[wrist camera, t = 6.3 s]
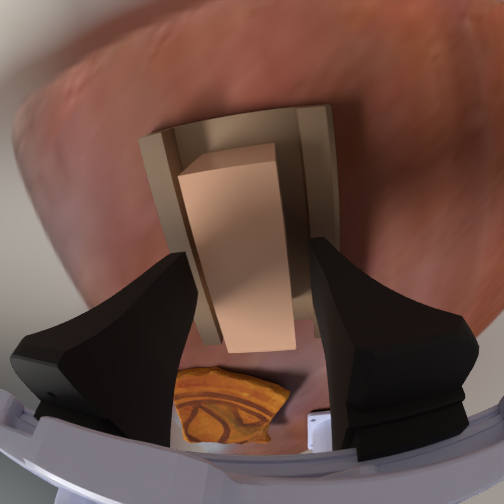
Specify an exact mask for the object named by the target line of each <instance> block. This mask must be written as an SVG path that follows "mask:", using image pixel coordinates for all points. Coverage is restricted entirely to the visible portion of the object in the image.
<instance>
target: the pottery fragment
mask: <svg viewBox="0 0 504 504" xmlns="http://www.w3.org/2000/svg"><path fill="white" fill-rule="evenodd" d="M289 395H290V391H288V390H286V389H284V388H282V387H281V386H279V385H277V384H274V383H272V382H268V381H265V380H262V379H259V378H256V377H253V376H250V375H245V374H239V373H235V372H231V371H226V370H223V369H220V368H218V367H210V368H192V369H185V370H182V371H179V372H178V373H177V378H176V384H175V391H174V398H173V399H174V402H175V406H176V410H177V413H178V416H179V418H180V422H181V425H182V430H183V438H184V440H186V441H187V442H189V443H200V442H217V443H223V444H231V443H236V444H247V443H250V442H256V443H268V442H270V441H271V438H270V436H269V435H268V433H267V432H268V428H269V426H270V422H271V420H272V418H273V417H274V416H275V415H276V413H277V412H278V411H279V409H280V408H281V407H282V405H283V404H284V403H285V402H286V400H287V399H288V397H289Z"/></svg>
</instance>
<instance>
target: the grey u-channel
mask: <svg viewBox="0 0 504 504" xmlns="http://www.w3.org/2000/svg"><path fill="white" fill-rule="evenodd" d="M138 141H139V146H140V150H141V154H142V158H143V161H144V165H145V169H146V173H147V177H148V180H149V184H150V188H151V191H152V195H153V198H154V202H155V205H156V208H157V212H158V215H159V219H160V222H161V225H162V228H163V232H164V235H165V238H166V241H167V244H168V247H169V250H170V253H176V252H186V255H187V258H188V261H189V265H190V268H191V271H192V274H193V277H194V280H195V284H196V287H197V290H198V299H197V306H196V311H195V315H194V320H195V323H196V326H197V328H198V331H199V333H200V336H201V338H202V341H203V343H204V345H222V340H223V334H222V331H221V328H220V324H219V321H218V318H217V315H216V312H215V309H214V305H213V302H212V299H211V296H210V292H209V289H208V286H207V282H206V279H205V276H204V272H203V269H202V265H201V262H200V258H199V255H198V251H197V248H196V244H195V241H194V237H193V233H192V230H191V226H190V222H189V218H188V215H187V211H186V207H185V203H184V199H183V195H182V191H181V187H180V183H179V179H178V175H180V174H181V173H182V172H183V171H184V170H185V169H186V168H187V167H188V166H190V165H191V164H192V163H193V162H194V161H195V160H196V159H197V158H199V157H200V156H201V155H202V154H204V153H209V152H215V151H221V150H227V149H233V148H240V147H246V146H253V145H261V144H269V143H275V149H276V156H277V163H278V170H279V178H280V185H281V193H282V201H283V209H284V217H285V226H286V234H287V243H288V252H289V262H290V271H291V281H292V291H293V303H294V319H295V321H296V320H306V319H313V324H314V332H315V338H321V336H320V331H319V327H318V323H317V319H316V315H315V311H314V306H313V300H312V292H311V284H310V267H309V252H308V239H307V238H315V237H325V238H326V239H327V240H328V241H329V242H330V243H331V244H332V245H333V246H334V247H335V248H336V249H337V250H338V251H339V252H340V212H339V189H338V173H337V159H336V146H335V136H334V126H333V116H332V108H331V104H318V105H305V106H294V107H284V108H276V109H267V110H260V111H253V112H246V113H240V114H234V115H228V116H223V117H217V118H212V119H207V120H202V121H198V122H193V123H189V124H184V125H180V126H176V127H172V128H168V129H164V130H160V131H156V132H152V133H149V134H146V135H144V136H143V137H141V138H139V139H138Z"/></svg>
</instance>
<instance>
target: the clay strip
mask: <svg viewBox="0 0 504 504" xmlns="http://www.w3.org/2000/svg"><path fill="white" fill-rule="evenodd" d="M178 179H179V183H180V187H181V191H182V195H183V199H184V203H185V207H186V211H187V215H188V218H189V222H190V226H191V230H192V233H193V237H194V241H195V244H196V248H197V251H198V255H199V258H200V262H201V265H202V269H203V272H204V276H205V279H206V282H207V286H208V289H209V292H210V296H211V299H212V302H213V305H214V309H215V312H216V315H217V318H218V321H219V324H220V328H221V331H222V334H223V337H224V340H225V343H226V346H227V349H228V352H229V353H243V352H263V351H279V350H292V349H296V336H295V319H294V303H293V291H292V281H291V271H290V262H289V252H288V243H287V234H286V226H285V217H284V209H283V201H282V193H281V185H280V178H279V170H278V163H277V156H276V149H275V143H269V144H261V145H253V146H246V147H240V148H233V149H227V150H221V151H215V152H209V153H204V154H202V155H201V156H200V157H199V158H197V159H196V160H195V161H194V162H193V163H192V164H191V165H190V166H188V167H187V168H186V169H185V170H184V171H183V172H182V173H181V174H180V175H178Z"/></svg>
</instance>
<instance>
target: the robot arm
mask: <svg viewBox="0 0 504 504" xmlns="http://www.w3.org/2000/svg"><path fill="white" fill-rule="evenodd" d="M307 239H308V252H309V267H310V284H311V292H312V300H313V306H314V311H315V315H316V319H317V323H318V327H319V331H320V336H321V340H322V344H323V348H324V353H325V359H326V367H327V377H328V388H329V400H330V411H321V412H312V413H309V414H308V449H313V453H309V454H294V455H263V456H255V455H224V454H210V453H198V452H189V451H181V450H177V449H172V448H170V429H171V417H172V406H173V398H174V391H175V384H176V378H177V373H178V367H179V363H180V359H181V356H182V353H183V350H184V347H185V343H186V340H187V337H188V334H189V331H190V328H191V325H192V322H193V319H194V315H195V311H196V306H197V299H198V290H197V287H196V284H195V280H194V277H193V274H192V271H191V268H190V265H189V261H188V258H187V255H186V252H176V253H171V254H169V255H167V256H166V257H164V258H163V259H161V260H160V261H159V262H157V263H156V264H155V265H153V266H152V267H151V268H150V269H148V270H147V271H146V272H144V273H143V274H142V275H141V276H139V277H138V278H137V279H136V280H134V281H133V282H131V283H130V284H129V285H127V286H126V287H125V288H123V289H122V290H121V291H119V292H118V293H116V294H115V295H114V296H112V297H111V298H109V299H107V300H106V301H104V302H103V303H101V304H99V305H98V306H96V307H94V308H92V309H90V310H89V311H87V312H85V313H83V314H81V315H79V316H77V317H75V318H73V319H71V320H69V321H67V322H65V323H62V324H59V325H57V326H55V327H52V328H49V329H47V330H43V331H40V332H37V333H34V334H31V335H27V336H25V337H24V338H23V339H22V340H21V342H20V343H19V345H18V346H17V348H16V349H15V350H14V352H13V353H12V355H11V356H10V362H11V365H12V368H13V369H14V371H15V373H16V374H17V375H18V377H19V378H20V379H21V380H22V381H23V382H24V384H26V386H27V387H28V388H29V389H30V390H31V391H32V392H33V393H34V394H35V395H36V396H37V397H38V398H39V399H40V400H41V402H40V404H39V406H38V408H37V410H36V412H35V411H32V410H30V409H28V408H26V407H24V405H23V404H22V403H21V402H20V401H19V400H18V399H16V398H15V397H14V396H13V395H12V394H10V393H9V392H6V391H4V390H2V389H0V451H1V452H2V453H4V454H5V455H6V456H8V457H9V458H11V459H12V460H14V461H15V462H17V463H18V464H19V465H21V466H22V467H24V468H26V469H27V470H29V471H30V472H32V473H34V474H35V475H37V476H39V477H40V478H42V479H44V480H46V481H47V482H49V483H51V484H53V485H54V486H56V487H58V488H59V490H58V493H57V496H56V499H55V503H54V504H458V503H460V502H462V501H464V500H466V499H469V498H471V497H473V496H475V495H477V494H479V493H481V492H483V491H485V490H487V489H489V488H490V487H492V486H494V485H496V484H498V483H499V482H501V481H503V480H504V396H503V398H502V399H501V400H500V402H499V404H498V405H495V406H493V407H491V408H489V409H487V410H484V411H482V412H480V413H477V414H475V415H472V416H470V417H467V415H466V412H465V409H464V406H463V404H462V401H463V400H464V399H465V393H464V391H463V388H462V385H463V383H464V382H465V380H466V378H467V377H468V375H469V373H470V371H471V370H472V368H473V367H474V364H475V362H476V360H477V357H478V354H479V345H478V343H477V340H476V338H475V337H474V335H473V333H472V331H471V329H470V328H469V326H468V324H467V323H466V321H465V320H464V318H463V317H462V316H460V315H457V314H453V313H450V312H446V311H443V310H439V309H435V308H432V307H430V306H427V305H424V304H422V303H419V302H416V301H414V300H412V299H410V298H407V297H405V296H403V295H401V294H399V293H397V292H395V291H393V290H391V289H389V288H387V287H386V286H384V285H382V284H381V283H379V282H377V281H376V280H374V279H373V278H371V277H370V276H368V275H367V274H365V273H364V272H363V271H361V270H360V269H359V268H357V267H356V266H355V265H353V264H352V263H351V262H350V261H349V260H348V259H347V258H346V257H344V256H343V255H342V254H341V253H340V252H339V251H338V250H337V249H336V248H335V247H334V246H333V245H332V244H331V243H330V242H329V241H328V240H327V239H326V238H325V237H315V238H307Z"/></svg>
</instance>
